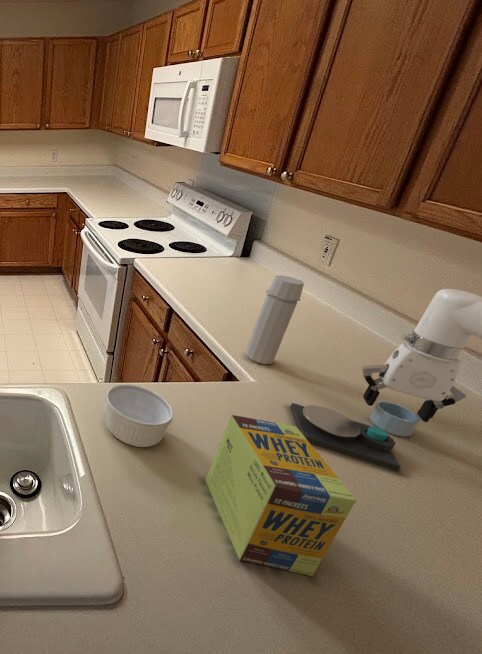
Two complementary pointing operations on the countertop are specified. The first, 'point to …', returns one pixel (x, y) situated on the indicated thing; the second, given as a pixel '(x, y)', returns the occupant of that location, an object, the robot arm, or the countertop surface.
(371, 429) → the tare button
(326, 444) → the scale
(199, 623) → the countertop surface
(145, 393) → the ramekin
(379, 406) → the bowl
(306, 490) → the protein box
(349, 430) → the scale plate
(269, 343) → the water bottle
